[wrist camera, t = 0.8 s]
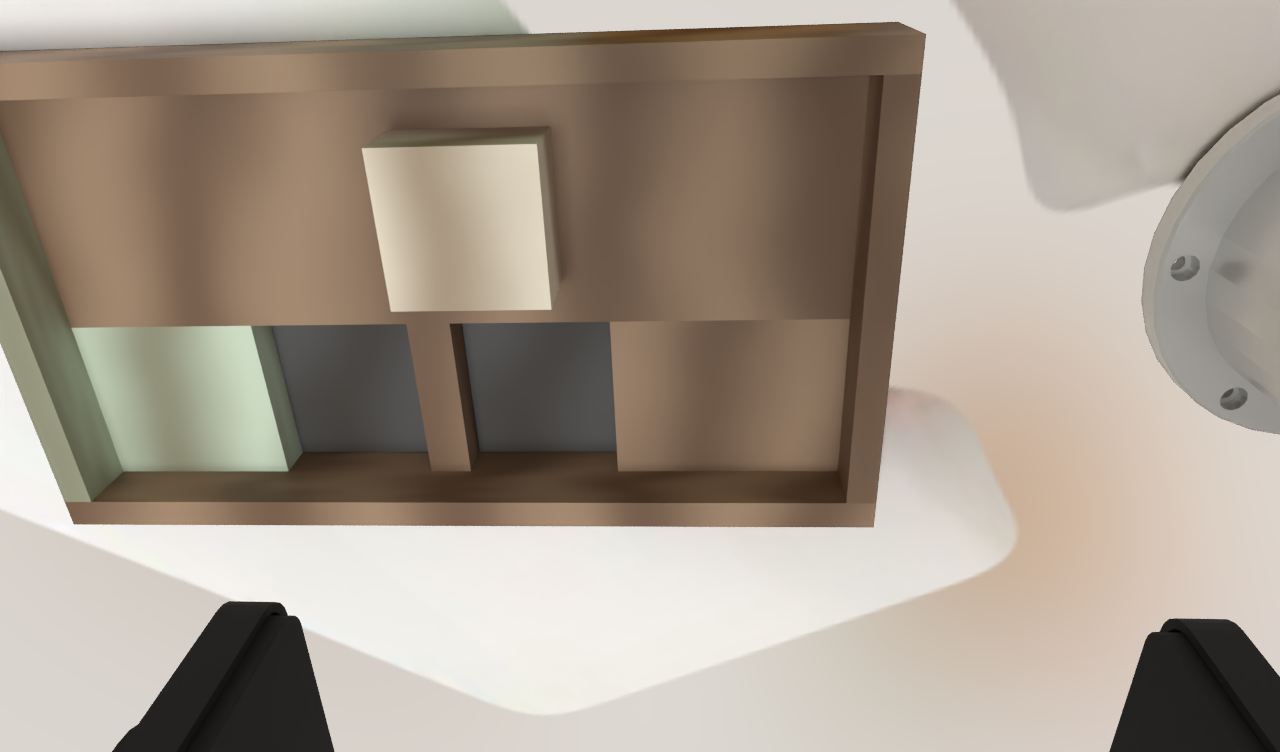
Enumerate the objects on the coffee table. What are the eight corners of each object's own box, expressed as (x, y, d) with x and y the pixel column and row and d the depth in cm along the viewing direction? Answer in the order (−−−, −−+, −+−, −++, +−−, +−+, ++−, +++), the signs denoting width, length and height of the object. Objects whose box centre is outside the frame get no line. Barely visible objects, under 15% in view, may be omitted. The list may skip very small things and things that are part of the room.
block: (549, 126, 26) (536, 144, 24) (562, 280, 29) (551, 309, 26) (388, 130, 27) (361, 148, 25) (413, 282, 29) (390, 311, 27)
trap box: (898, 22, 26) (925, 34, 23) (856, 471, 33) (873, 527, 30) (-23, 52, 28) (-112, 67, 25) (128, 471, 35) (74, 524, 32)
